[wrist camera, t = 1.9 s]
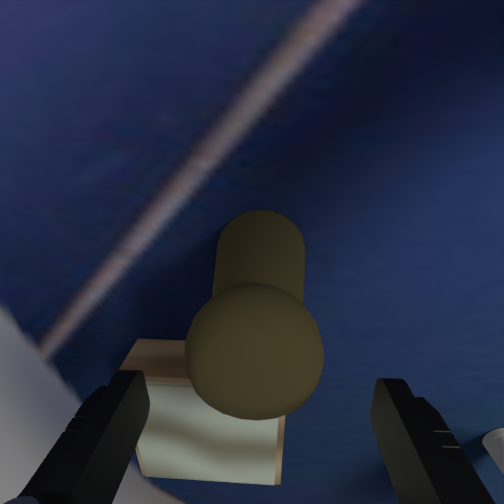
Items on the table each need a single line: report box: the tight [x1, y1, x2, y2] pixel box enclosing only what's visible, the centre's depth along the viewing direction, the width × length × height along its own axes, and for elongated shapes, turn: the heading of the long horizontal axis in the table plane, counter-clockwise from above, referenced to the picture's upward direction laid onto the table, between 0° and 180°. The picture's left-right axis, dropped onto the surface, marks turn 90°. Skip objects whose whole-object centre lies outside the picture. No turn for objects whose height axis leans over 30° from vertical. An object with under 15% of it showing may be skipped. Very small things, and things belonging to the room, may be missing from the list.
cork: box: [185, 210, 324, 421], centre depth 14 cm, size 6×6×11 cm
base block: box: [118, 339, 285, 485], centre depth 23 cm, size 12×12×4 cm
